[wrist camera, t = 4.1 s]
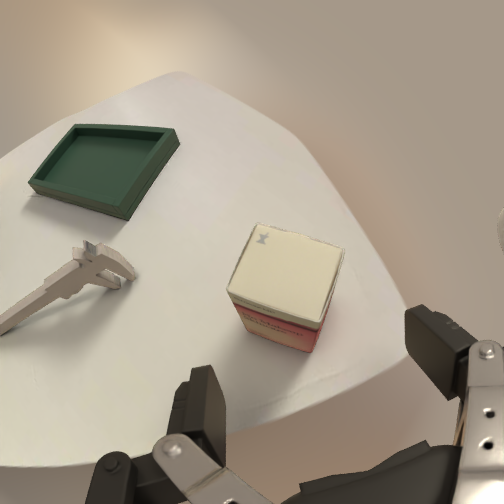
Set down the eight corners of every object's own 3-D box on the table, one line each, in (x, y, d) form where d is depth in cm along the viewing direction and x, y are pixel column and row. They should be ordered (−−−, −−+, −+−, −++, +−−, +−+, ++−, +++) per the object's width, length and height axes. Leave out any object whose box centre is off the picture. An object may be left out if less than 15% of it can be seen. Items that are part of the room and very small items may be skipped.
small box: (245, 331, 22) (220, 290, 15) (267, 279, 24) (254, 219, 17) (312, 355, 21) (321, 325, 14) (332, 300, 22) (347, 245, 15)
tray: (180, 143, 33) (174, 128, 31) (128, 220, 29) (117, 206, 26) (81, 135, 38) (74, 123, 36) (36, 193, 34) (27, 182, 32)
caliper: (137, 270, 26) (100, 231, 20) (139, 281, 25) (100, 243, 20) (-10, 332, 25) (-51, 311, 19) (-10, 341, 24) (-51, 321, 19)
